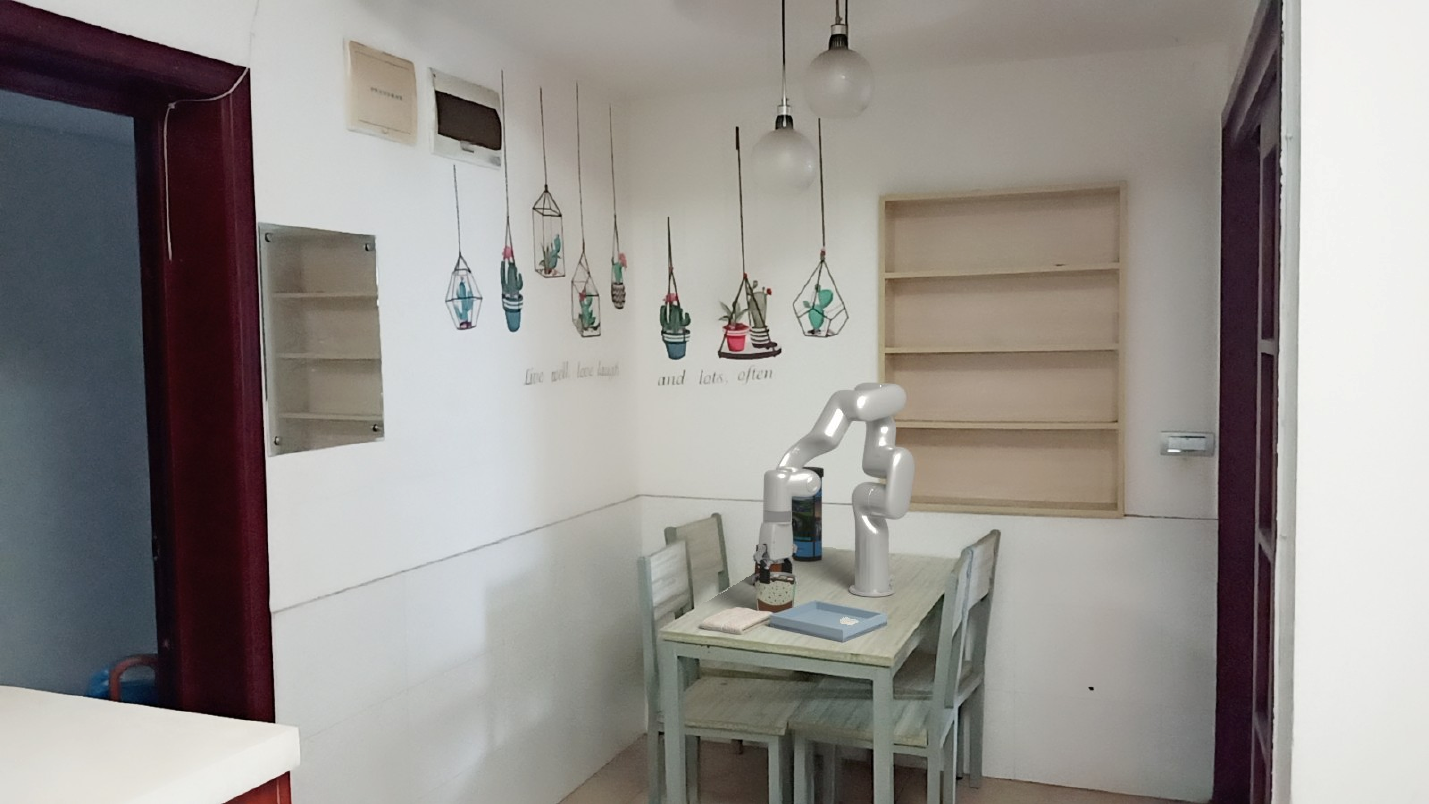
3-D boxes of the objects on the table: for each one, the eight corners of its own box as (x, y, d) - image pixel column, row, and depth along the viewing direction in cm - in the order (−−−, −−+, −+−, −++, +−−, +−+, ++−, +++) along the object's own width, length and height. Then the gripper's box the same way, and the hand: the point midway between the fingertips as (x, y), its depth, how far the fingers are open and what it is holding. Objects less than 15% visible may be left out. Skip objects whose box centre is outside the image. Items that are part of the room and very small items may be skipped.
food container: (803, 610, 284) (803, 573, 283) (797, 615, 278) (797, 578, 277) (759, 606, 288) (759, 570, 287) (752, 612, 282) (752, 574, 282)
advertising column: (825, 555, 356) (825, 466, 354) (822, 562, 345) (822, 471, 343) (791, 554, 358) (791, 466, 356) (787, 561, 347) (787, 470, 345)
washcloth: (775, 621, 275) (775, 609, 274) (741, 637, 259) (741, 625, 259) (736, 615, 281) (735, 603, 281) (700, 631, 265) (700, 619, 265)
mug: (744, 587, 310) (746, 535, 311) (759, 585, 323) (762, 535, 325) (782, 590, 306) (785, 537, 307) (796, 588, 319) (798, 537, 320)
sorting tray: (815, 611, 282) (815, 600, 282) (886, 625, 268) (887, 613, 268) (769, 626, 267) (769, 615, 267) (843, 642, 253) (843, 630, 253)
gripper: (785, 512, 290) (783, 574, 291) (745, 518, 277) (744, 583, 278) (807, 515, 286) (806, 578, 286) (768, 521, 272) (767, 587, 273)
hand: (775, 580), depth 282 cm, fingers open, 9 cm apart
